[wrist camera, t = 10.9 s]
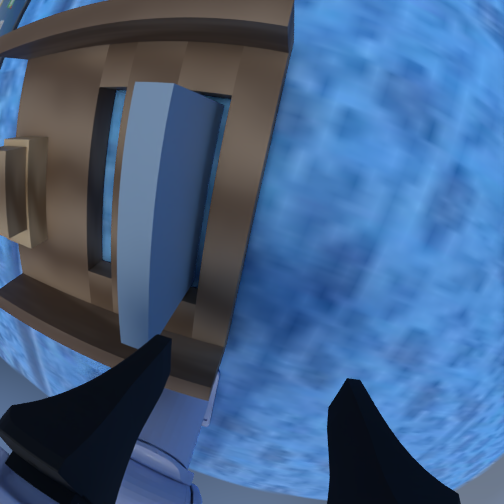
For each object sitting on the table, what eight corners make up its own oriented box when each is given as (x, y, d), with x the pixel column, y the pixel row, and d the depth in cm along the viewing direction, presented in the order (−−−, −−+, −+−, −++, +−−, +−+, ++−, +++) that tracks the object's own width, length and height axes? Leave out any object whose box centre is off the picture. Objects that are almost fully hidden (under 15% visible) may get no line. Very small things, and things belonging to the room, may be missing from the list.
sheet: (194, 280, 20) (148, 352, 13) (173, 274, 21) (121, 342, 13) (224, 105, 16) (174, 83, 8) (199, 102, 16) (135, 81, 8)
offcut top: (27, 229, 16) (9, 238, 14) (6, 221, 16) (-11, 230, 14) (26, 146, 14) (5, 151, 12) (5, 145, 14) (-14, 149, 12)
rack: (226, 344, 22) (208, 401, 17) (37, 277, 23) (-2, 306, 17) (293, 41, 14) (294, -1, 8) (48, 45, 14) (-3, 37, 9)
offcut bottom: (47, 239, 19) (31, 248, 17) (22, 230, 19) (7, 238, 17) (48, 137, 15) (29, 139, 14) (22, 136, 16) (4, 139, 14)
